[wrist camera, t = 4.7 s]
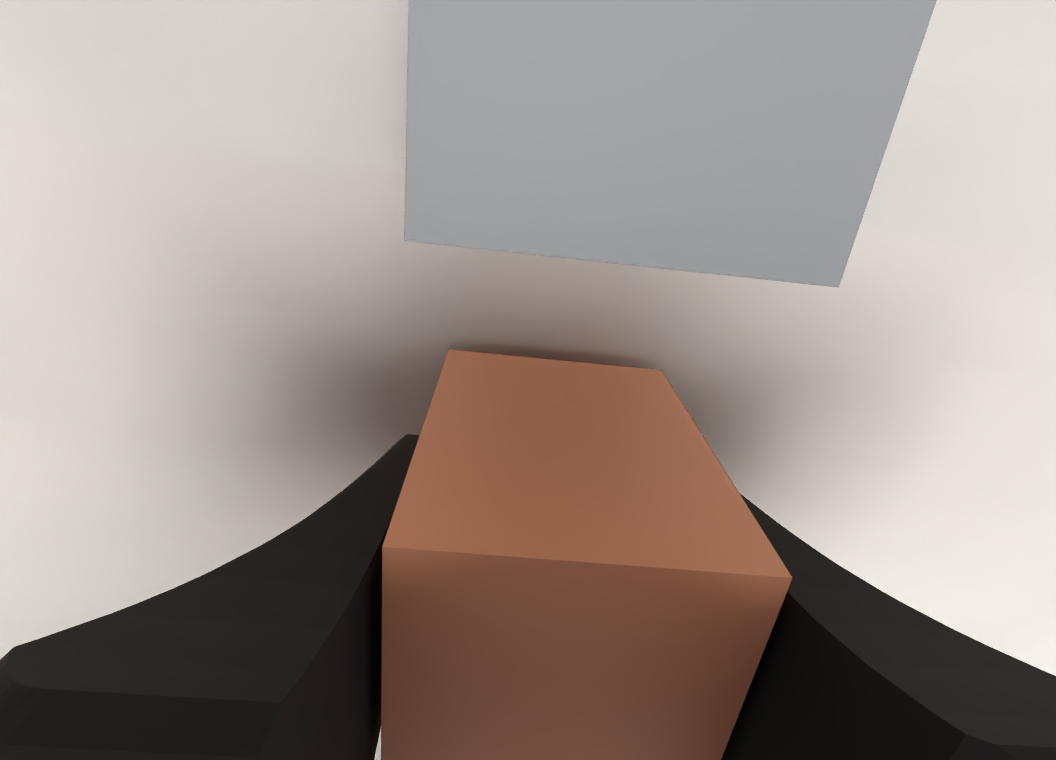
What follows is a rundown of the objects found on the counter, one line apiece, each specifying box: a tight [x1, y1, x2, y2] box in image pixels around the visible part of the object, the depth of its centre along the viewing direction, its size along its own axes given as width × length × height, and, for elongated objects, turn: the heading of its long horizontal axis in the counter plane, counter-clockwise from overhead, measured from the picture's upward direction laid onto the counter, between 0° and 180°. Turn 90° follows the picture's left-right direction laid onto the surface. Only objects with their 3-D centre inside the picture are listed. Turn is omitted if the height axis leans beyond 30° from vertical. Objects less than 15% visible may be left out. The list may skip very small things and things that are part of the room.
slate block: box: [404, 0, 937, 287], centre depth 7 cm, size 4×4×6 cm
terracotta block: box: [381, 350, 792, 760], centre depth 10 cm, size 4×4×6 cm
